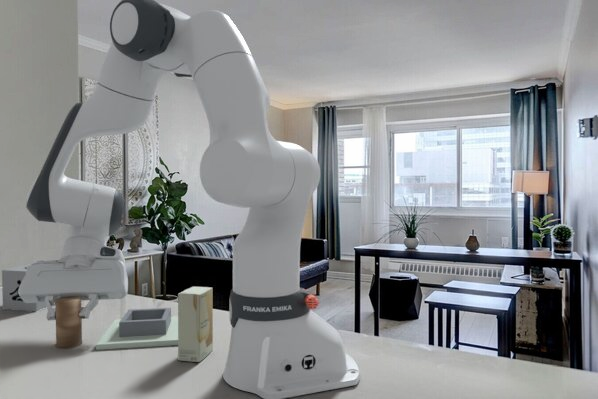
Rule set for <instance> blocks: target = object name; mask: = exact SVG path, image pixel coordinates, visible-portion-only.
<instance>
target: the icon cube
mask: <svg viewBox="0 0 598 399" xmlns="http://www.w3.org/2000/svg"><path fill="white" fill-rule="evenodd" d="M33 263H34V262H33ZM33 263H28V264H24V265H19V266H15V267H10V268H5V269H2V270H1V286H2V288H1V289H2V290H1V291H2V309H3V308H4V309H14V310H13V311H18V310H26V311H25V312H32V311H38V310H40V309H43V308H46V307H47V306H46V303H45V302H37V303H25V302H24V301H23V300H22V299H21V297H20V296H19V294H18V289H19V287H20V284H21V282H22V280H23V278H24V277H25V275H26V271H27V268H28V266H29V265H31V264H33ZM4 309H3V310H4ZM46 309H47V308H46ZM43 310H44V309H43ZM40 311H41V310H40ZM38 312H39V311H38Z"/></svg>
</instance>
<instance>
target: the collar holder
mask: <svg viewBox="0 0 598 399" xmlns="http://www.w3.org/2000/svg"><path fill="white" fill-rule="evenodd" d="M165 346H166V347H167V346H178V315H173V316H172V308H171V307H155V308H134V309H128V310H127V311H126V313H124V315H123V317H121V318H115V319H114V321H113V322H112V323H111V324H110V326H109V327H108V329H107V330H106V331H105V332H104V333H103V335H102V336H101V338H100V339H99V340H98V341H97V342H96V344H95V350H96V351H98V350H99V351H100V350H114V349H132V348H134V349H135V348H147V347H149V348H151V347H165Z"/></svg>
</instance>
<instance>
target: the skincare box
mask: <svg viewBox="0 0 598 399" xmlns="http://www.w3.org/2000/svg"><path fill="white" fill-rule="evenodd" d="M213 291H214V290H213V287H209V286H191V287H189V288H186V289H184V290H183V291H181V292H179V293H178V294H177V316H178V345H177V359H178V361H181V362H182V361H183V362H191V363H192V362H195V363H196V362H197V363H200V362H202V361H203V360H204V359H205V358H207V357H208V355H209V354H211V353H212V352H213V349H214V348H213V346H214V343H213V342H214V340H213V339H214V338H213V337H214V336H213V334H214V333H213V332H214V331H213V330H214V328H213V322H214V321H213V320H214V319H213V316H214V315H213V314H214V313H213V311H214V310H213V309H214V308H213V306H214V305H213V301H214V300H213V297H214V296H213Z"/></svg>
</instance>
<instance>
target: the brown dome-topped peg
mask: <svg viewBox="0 0 598 399" xmlns="http://www.w3.org/2000/svg"><path fill="white" fill-rule="evenodd" d="M81 307H82V301H81V297H78V296H69V297H62V298H59V299H56V300H55V309H56V320H55V347H56V348H57V349H61V350H62V349H72V348H76V347H79V346H80V345H81V344H82V343H83V330H82V329H83V328H82V326H83V325H82V322H83V319H80V317H79V312H80V308H81Z"/></svg>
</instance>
